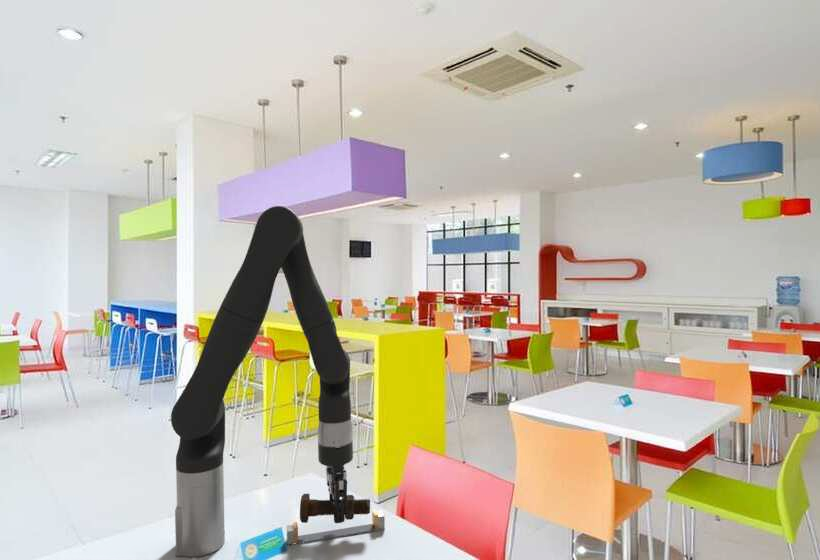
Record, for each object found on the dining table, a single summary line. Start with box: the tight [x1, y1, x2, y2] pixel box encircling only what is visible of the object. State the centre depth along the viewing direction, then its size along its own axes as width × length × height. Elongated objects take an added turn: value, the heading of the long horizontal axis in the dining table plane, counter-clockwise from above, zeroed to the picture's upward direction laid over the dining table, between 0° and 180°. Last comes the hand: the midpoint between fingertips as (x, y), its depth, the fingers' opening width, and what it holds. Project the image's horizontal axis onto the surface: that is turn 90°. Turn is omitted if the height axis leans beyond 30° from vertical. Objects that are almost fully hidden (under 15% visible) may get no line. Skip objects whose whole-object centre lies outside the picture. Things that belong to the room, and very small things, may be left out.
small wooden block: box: [371, 509, 386, 532], centre depth 113 cm, size 2×2×4 cm
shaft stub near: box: [286, 521, 299, 546], centre depth 108 cm, size 2×2×4 cm
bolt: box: [299, 493, 371, 524], centre depth 111 cm, size 6×5×15 cm
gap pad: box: [298, 523, 376, 544], centre depth 111 cm, size 17×3×1 cm, turn 107°
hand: (337, 515), depth 111 cm, fingers closed on bolt, 5 cm apart
